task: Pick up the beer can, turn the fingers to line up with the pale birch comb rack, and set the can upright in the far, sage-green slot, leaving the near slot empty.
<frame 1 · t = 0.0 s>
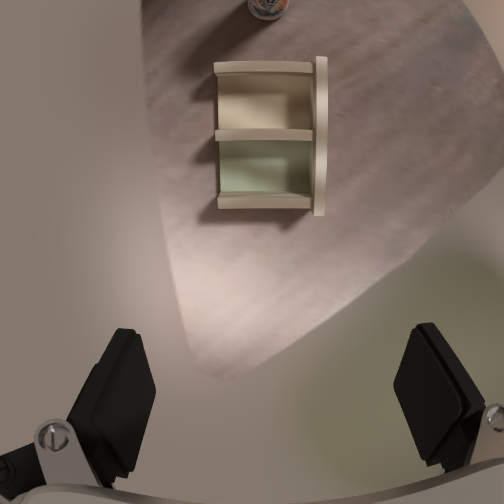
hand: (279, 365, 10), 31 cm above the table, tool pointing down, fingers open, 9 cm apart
beer can: (267, 6, 30), on the table
comb rack: (269, 133, 36), on the table
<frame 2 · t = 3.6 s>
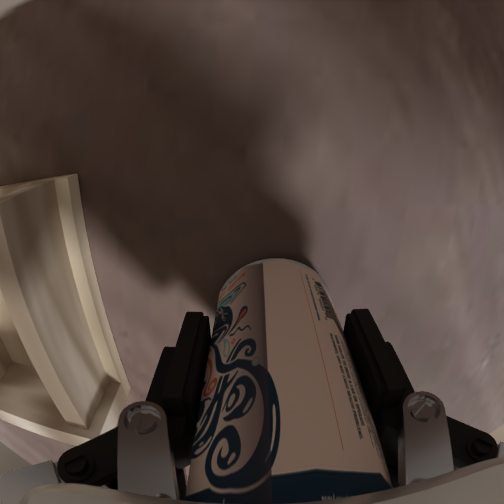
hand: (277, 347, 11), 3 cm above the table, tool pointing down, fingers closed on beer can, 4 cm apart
beer can: (273, 301, 14), on the table, touching gripper
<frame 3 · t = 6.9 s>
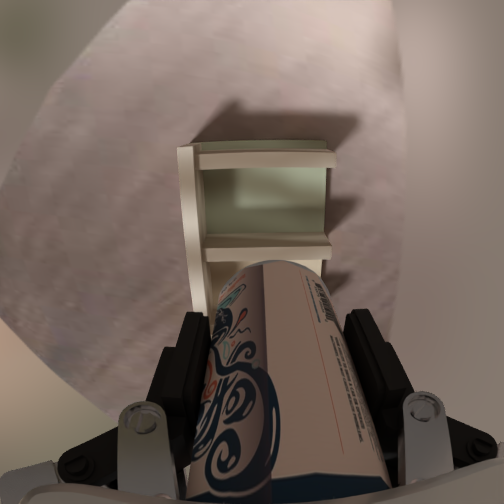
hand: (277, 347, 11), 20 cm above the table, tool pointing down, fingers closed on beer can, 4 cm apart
beer can: (273, 302, 14), point 17 cm above the table, touching gripper
comb rack: (259, 235, 30), on the table
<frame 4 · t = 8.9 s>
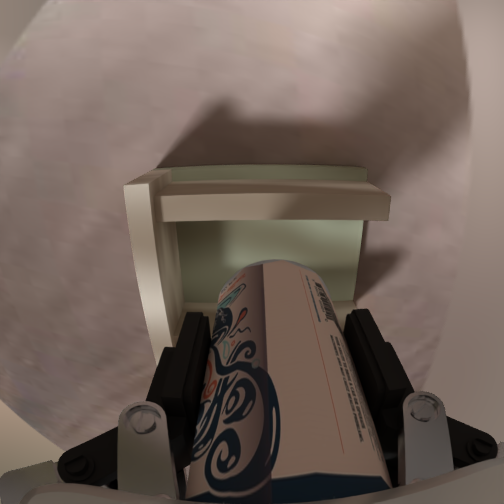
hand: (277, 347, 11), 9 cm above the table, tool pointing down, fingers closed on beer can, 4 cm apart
beer can: (273, 302, 14), point 6 cm above the table, touching gripper
comb rack: (260, 303, 21), on the table
when the fingers open (5 cm above the table, at t = 10.5 s): beer can drops 1 cm, resting on comb rack.
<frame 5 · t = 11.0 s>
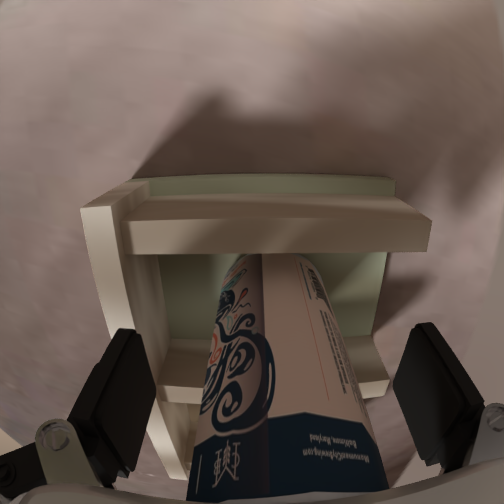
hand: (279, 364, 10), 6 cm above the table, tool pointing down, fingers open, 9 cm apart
beer can: (271, 288, 15), point 1 cm above the table, touching comb rack
comb rack: (261, 339, 17), on the table
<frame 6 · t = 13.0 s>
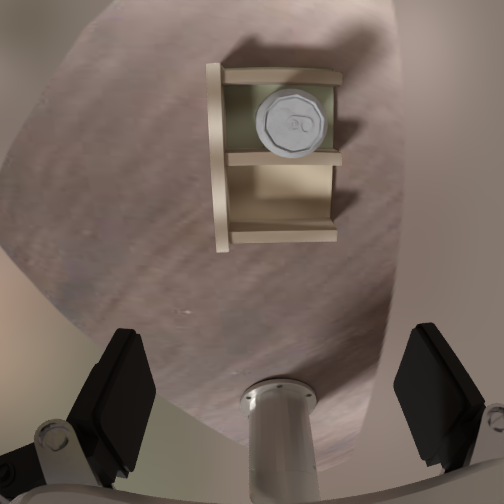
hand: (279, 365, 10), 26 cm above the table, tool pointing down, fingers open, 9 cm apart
beer can: (279, 118, 30), point 1 cm above the table, touching comb rack
comb rack: (274, 152, 32), on the table
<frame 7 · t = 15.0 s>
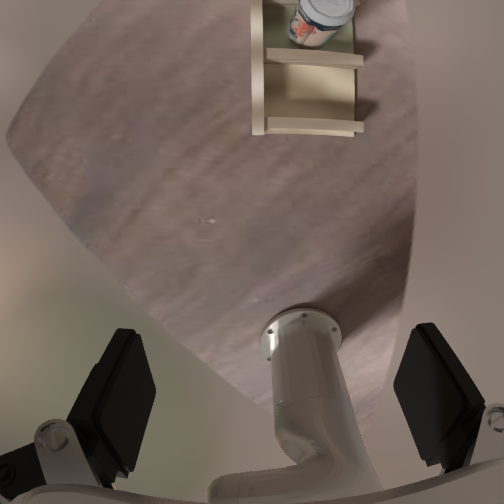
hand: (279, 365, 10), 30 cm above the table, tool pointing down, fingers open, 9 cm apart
beer can: (307, 33, 30), point 1 cm above the table, touching comb rack
comb rack: (303, 61, 32), on the table
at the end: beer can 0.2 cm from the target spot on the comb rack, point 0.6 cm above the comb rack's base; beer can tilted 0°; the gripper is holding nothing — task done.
